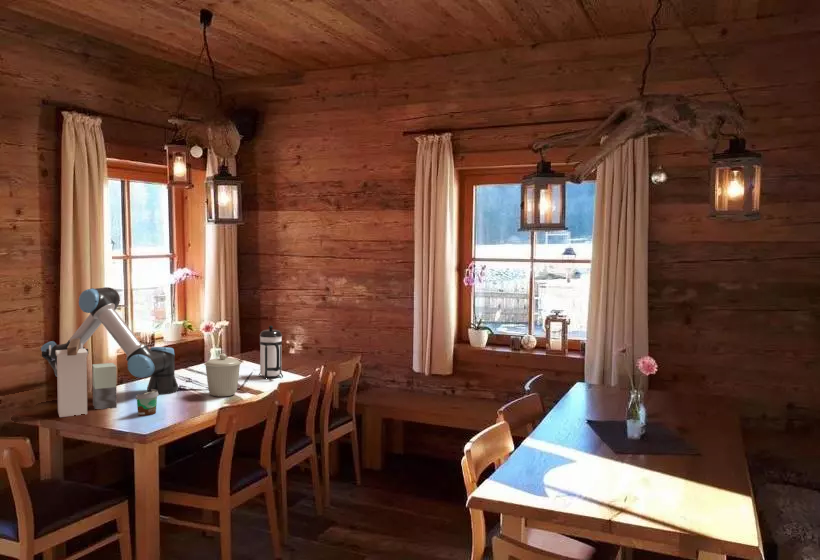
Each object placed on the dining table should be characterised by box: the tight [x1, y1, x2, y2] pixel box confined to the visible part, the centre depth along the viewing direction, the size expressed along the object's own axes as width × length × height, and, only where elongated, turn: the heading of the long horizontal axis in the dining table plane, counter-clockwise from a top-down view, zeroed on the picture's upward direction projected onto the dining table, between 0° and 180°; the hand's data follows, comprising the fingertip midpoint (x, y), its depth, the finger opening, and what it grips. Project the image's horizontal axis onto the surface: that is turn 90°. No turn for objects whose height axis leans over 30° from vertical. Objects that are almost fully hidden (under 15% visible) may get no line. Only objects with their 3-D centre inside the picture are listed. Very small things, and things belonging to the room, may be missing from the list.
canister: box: [204, 353, 242, 398], centre depth 338 cm, size 18×18×21 cm
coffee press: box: [258, 325, 284, 380], centre depth 383 cm, size 17×16×30 cm
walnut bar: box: [67, 338, 80, 356], centre depth 300 cm, size 4×28×4 cm, turn 23°
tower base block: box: [92, 385, 118, 410], centre depth 312 cm, size 9×10×10 cm
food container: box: [135, 389, 160, 417], centre depth 300 cm, size 12×6×10 cm, turn 168°
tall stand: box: [56, 348, 89, 418], centre depth 299 cm, size 12×12×28 cm
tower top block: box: [91, 362, 117, 389], centre depth 311 cm, size 9×10×10 cm
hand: (66, 346), depth 319 cm, fingers open, 13 cm apart
